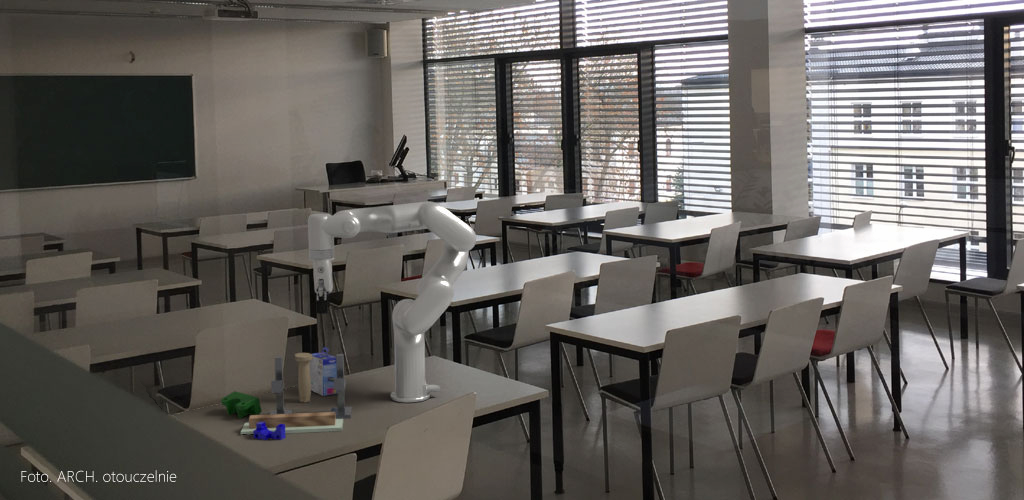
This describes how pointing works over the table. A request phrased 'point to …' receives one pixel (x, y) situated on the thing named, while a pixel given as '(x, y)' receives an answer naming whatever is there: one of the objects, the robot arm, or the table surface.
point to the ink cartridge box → (323, 373)
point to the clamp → (241, 404)
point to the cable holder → (269, 432)
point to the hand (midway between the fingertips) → (323, 310)
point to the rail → (294, 419)
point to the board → (301, 428)
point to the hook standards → (339, 385)
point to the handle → (304, 376)
